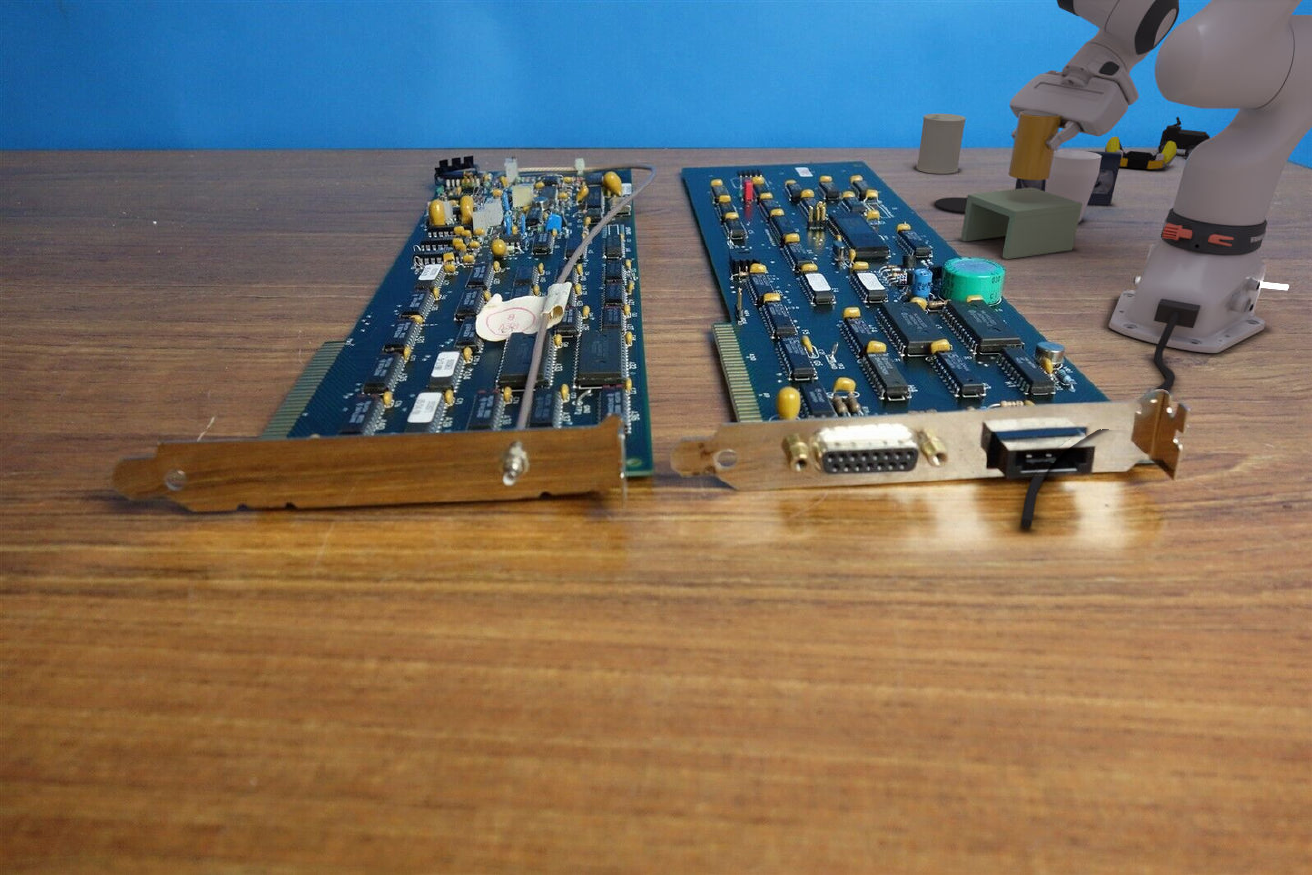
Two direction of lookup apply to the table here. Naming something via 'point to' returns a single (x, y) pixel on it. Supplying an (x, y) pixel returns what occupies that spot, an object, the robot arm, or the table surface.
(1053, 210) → the shelf
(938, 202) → the mat
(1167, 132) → the toy vehicle
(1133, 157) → the gaming controller
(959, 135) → the can
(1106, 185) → the vhs cassette tape
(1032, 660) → the table surface
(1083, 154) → the cup
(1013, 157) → the tumbler
